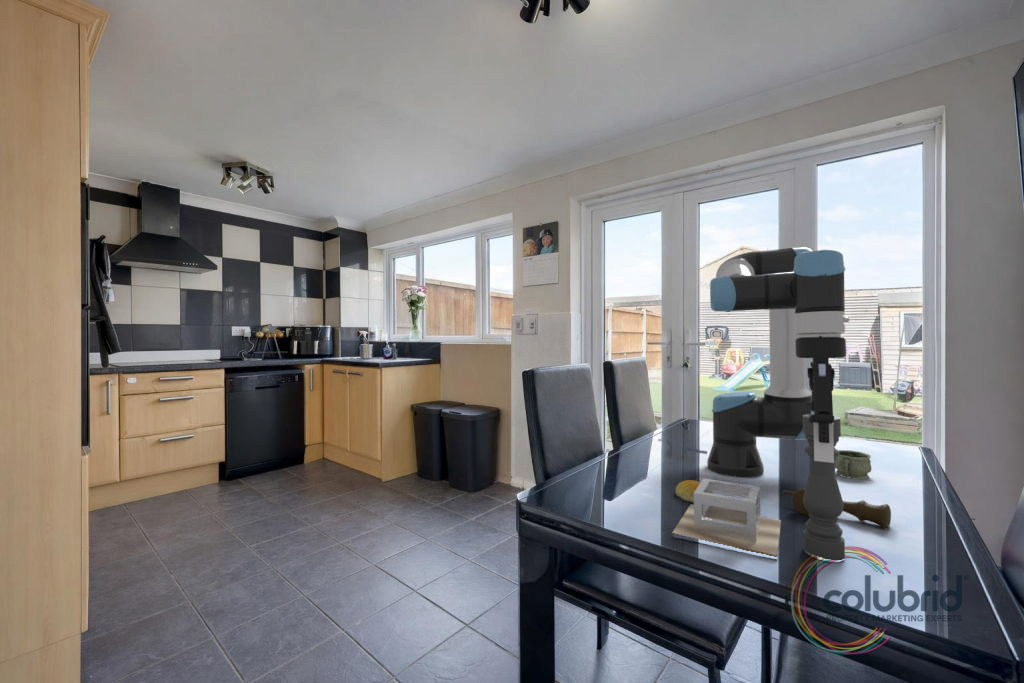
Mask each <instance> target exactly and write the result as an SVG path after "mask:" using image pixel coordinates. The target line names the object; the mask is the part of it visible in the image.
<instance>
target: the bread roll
mask: <svg viewBox="0 0 1024 683" xmlns="http://www.w3.org/2000/svg"><path fill="white" fill-rule="evenodd" d="M700 483H701V481H697V480H692V479H686V480H683V481H681V482H679V483H678V484H677V485H676V487H675V495H676V496H677V497H678V498H680V499H682V500H683V501H685V502H686V501H687V502H689V501H690V502H689V503H694V492H695V490H696V489H697V487H698V486H699V484H700ZM711 493H712V494H714V491H711Z"/></svg>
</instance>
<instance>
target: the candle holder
mask: <svg viewBox="0 0 1024 683" xmlns="http://www.w3.org/2000/svg"><path fill="white" fill-rule="evenodd" d="M833 416H834V420H833V437H834V463H830V462H821V461H814V422H809V417H814V414H810V415H803V433H804V434H805V438H806V439H807V440H806V441H807V443H808V446H806V447H805V448H804V451H805V452H804V453H806V454H807V456H808V458H809V459H808V460H809V474H808V478H807V480H806V481H807V482H806V486H805V488H804V489H805V492H804V496H803V504H804V506H805V508H806V510H807V511H808V512H809V514H808V515H809V516H808V517H809V518H808V520H807V521H806V522H805V523H804V528H805V530H803V535H802V537H803V540H802V544H803V546H802V547H803V549H804V550H805V551H807V552H809V553H810V554H813V555H816V556H819V557H822V558H825V559H831V560H842V559H844V558H846V556H845V555H846V554H845V553H846V552H845V551H846V550H845V549H846V547H845V544H846V542H845V538H844V537H843V529H842V528H841V527H840V525H839V524H838V523H837V522H838V521H839V517H840V516H841V515H842V513H843V512H844V511H843V508H844V504H843V501H844V500H843V498H842V497H843V496H842V494H841V490H840V486H839V483H838V480H837V476H836V468H835V459H836V457H838V456H839V453H840V452H839V451H838V450H839V449H837V448H835V447H836V446H837V443H839V440H840V438H841V436H842V435H841V434H842V433H841V432H842V431H841V430H842V428H841V426H842V425H841V417H840V416H835V415H833ZM804 550H803V551H804Z"/></svg>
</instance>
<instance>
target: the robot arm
mask: <svg viewBox="0 0 1024 683" xmlns="http://www.w3.org/2000/svg"><path fill="white" fill-rule="evenodd" d="M845 271H846V267H845V261H844V255H843V251H841V250H838V249H830V248H829V249H828V248H827V249H816V250H815V249H814V250H812V249H811V248H808V247H789V248H779V249H771V250H770V249H769V250H760V251H758V250H757V251H750V252H748V251H747V252H744V253H740V254H737V255H735V256H733V257H730V258H728V259H727V260H725V261H724V262H723V263H721V264H720V265H719V267H718V269H717V271H716V273H715V277H714V278H712V279H711V280H710V282H709V283H710V284H709V286H710V288H709V292H710V293H709V300H710V301H709V303H710V309H711V310H712V311H714V312H725V313H730V312H742V311H744V312H745V311H764V310H766V311H768V310H769V314H768V315H769V322H768V323H769V386H768V387H767V388H766V389H765V390H764V391H763V396H762V397H760V396H759V397H758V396H757V395H756V393H755V392H753V391H737V392H727V393H722V394H717V395H715V397H714V398H713V400H712V409H711V412H712V436H713V437H712V438H713V439H712V440H713V441H712V442H713V443H712V444H711V448H710V451H709V454H708V458H707V462H706V463H707V469H708V470H709V471H710V472H713V473H715V474H716V473H717V474H720V475H723V476H730V477H735V476H736V478H754V477H760V476H762V475H764V474H763V473H764V472H765V471H764V470H765V467H764V464H763V460H762V458H761V455H760V452H759V450H758V448H757V438H768V439H769V438H770V439H783V440H792V441H795V440H797V441H798V440H800V441H801V440H803V441H805V440H806V441H807V439H806V438H805V434H804V433H803V415H810V414H814V417H809V422H814V461H821V462H830V463H834V437H833V420H834V416H835V415H834V408H833V407H834V406H833V391H834V388H835V386H834V385H835V383H834V382H835V381H834V379H835V377H836V376H835V372H836V371H835V368H833V365H832V364H831V363H829V359H843V358H845V357H846V356H847V341H846V338H845V337H842V335H843V334H845V333H846V324H845V323H848V322H850V318H849V317H848V316H845V310H846V307H845V302H846V301H845ZM806 359H812V361H811V362H810V367H807V378H808V385H809V389H810V390H809V389H807V387H806Z"/></svg>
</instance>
